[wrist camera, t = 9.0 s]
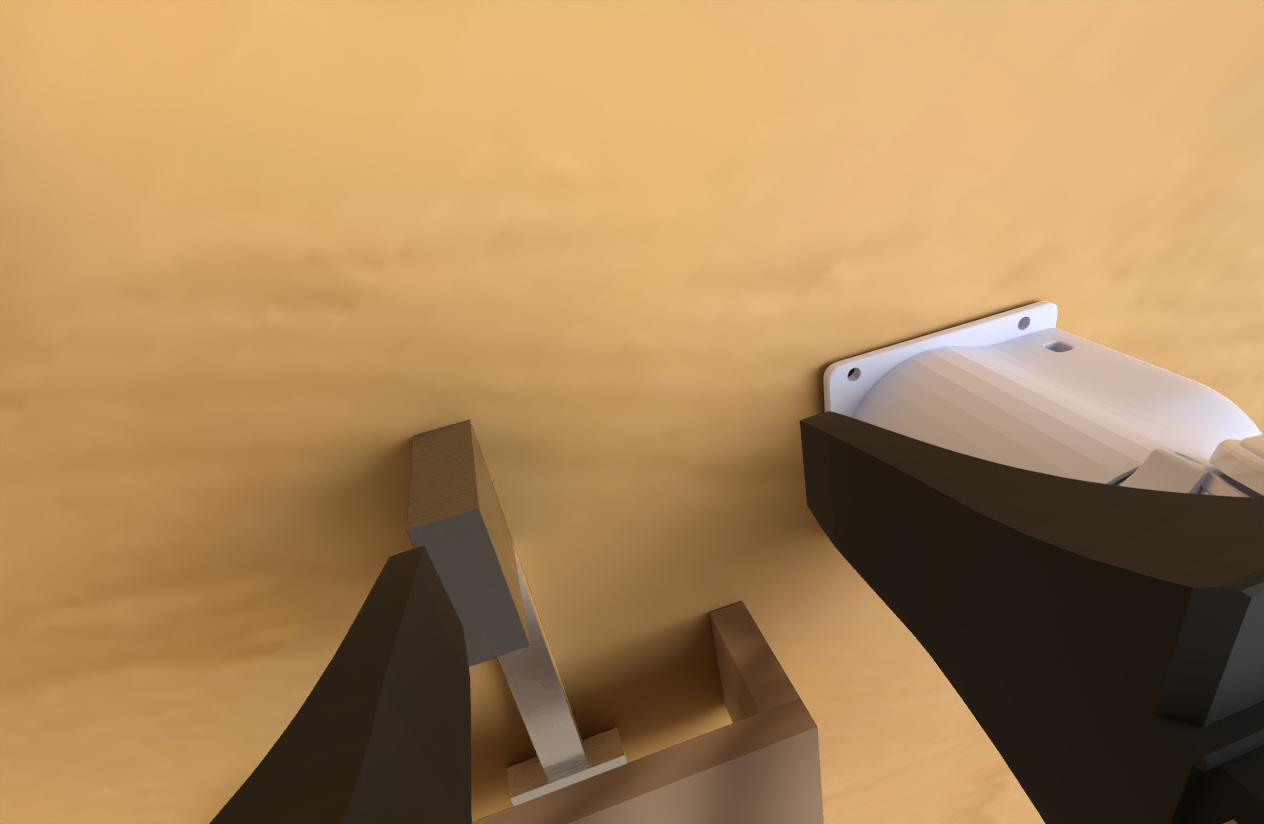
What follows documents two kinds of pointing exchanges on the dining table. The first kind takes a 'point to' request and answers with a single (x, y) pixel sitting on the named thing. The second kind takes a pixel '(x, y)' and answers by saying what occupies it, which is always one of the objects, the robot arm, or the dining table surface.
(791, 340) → the dining table surface
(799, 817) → the walnut shelf
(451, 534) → the blade tool
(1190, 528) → the robot arm
